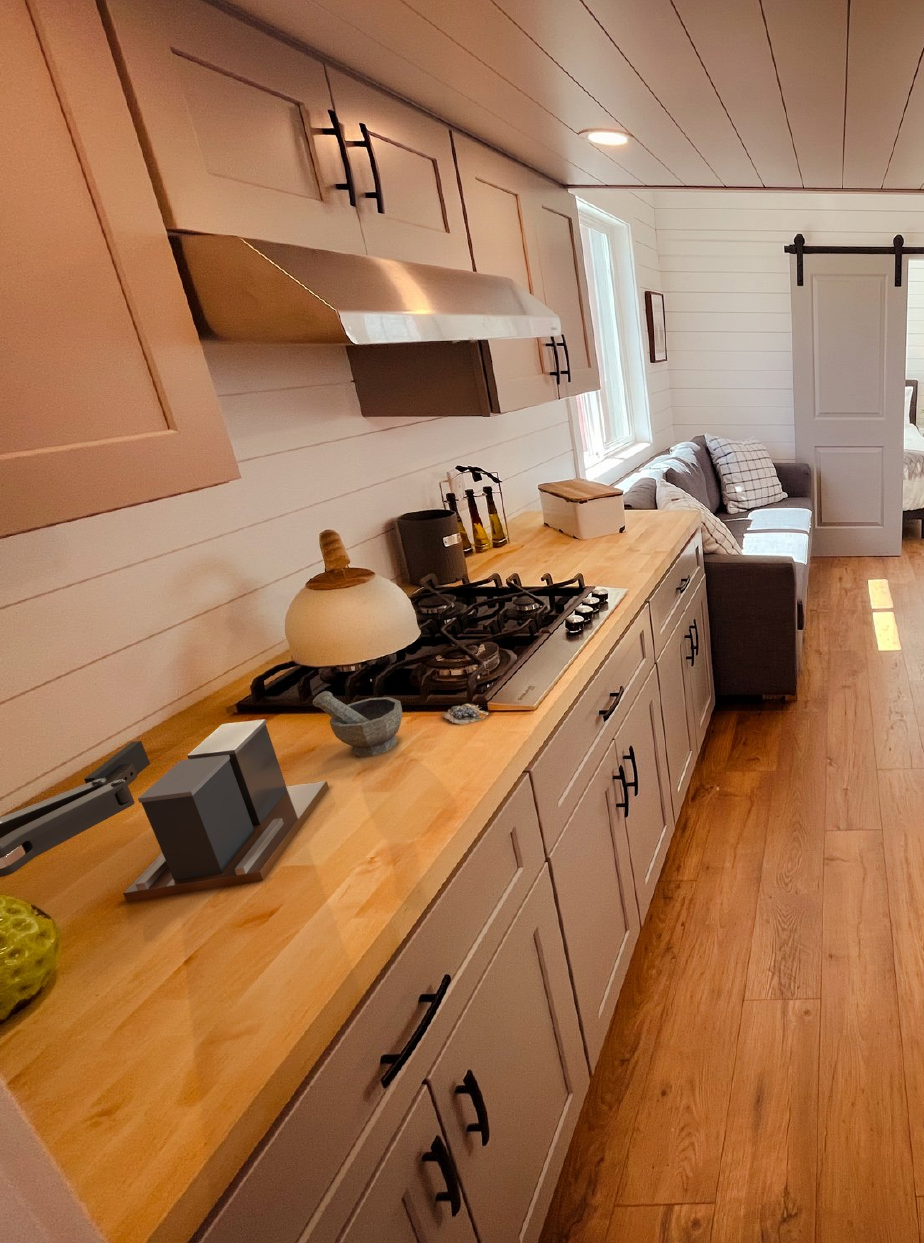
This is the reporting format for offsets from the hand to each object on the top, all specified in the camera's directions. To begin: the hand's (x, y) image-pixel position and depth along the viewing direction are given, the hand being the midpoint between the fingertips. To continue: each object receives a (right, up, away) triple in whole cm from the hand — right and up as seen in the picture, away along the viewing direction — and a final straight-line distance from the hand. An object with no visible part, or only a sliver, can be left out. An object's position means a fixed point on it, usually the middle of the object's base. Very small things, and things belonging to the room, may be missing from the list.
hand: (56, 762), depth 68 cm
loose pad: (-4, -17, +21) cm, 28 cm away
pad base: (-6, -17, +26) cm, 32 cm away
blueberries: (+8, -5, +58) cm, 59 cm away
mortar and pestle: (-3, -9, +48) cm, 49 cm away
